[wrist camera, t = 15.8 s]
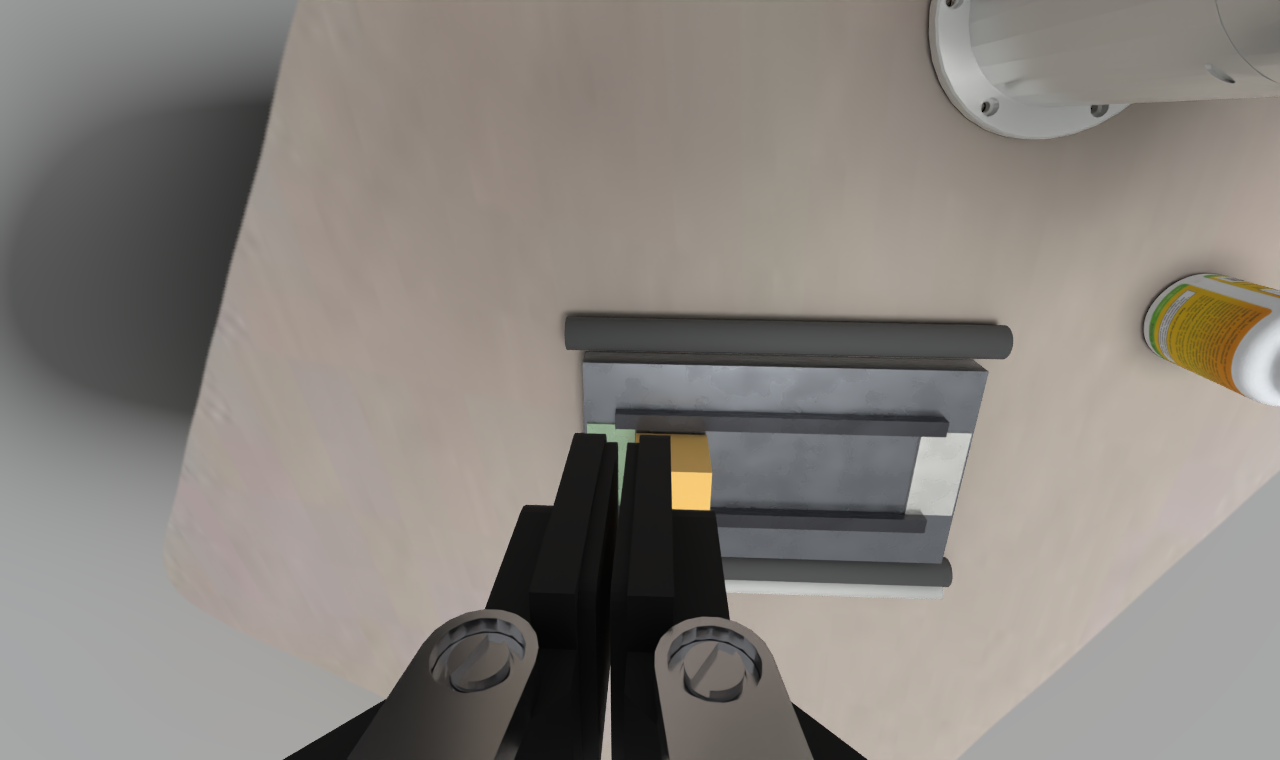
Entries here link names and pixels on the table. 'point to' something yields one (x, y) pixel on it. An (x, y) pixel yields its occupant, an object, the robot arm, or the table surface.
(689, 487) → the toggle
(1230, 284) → the supplement bottle
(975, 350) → the pair of dark bars
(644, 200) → the table surface
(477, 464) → the table surface
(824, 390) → the railed metal tray
